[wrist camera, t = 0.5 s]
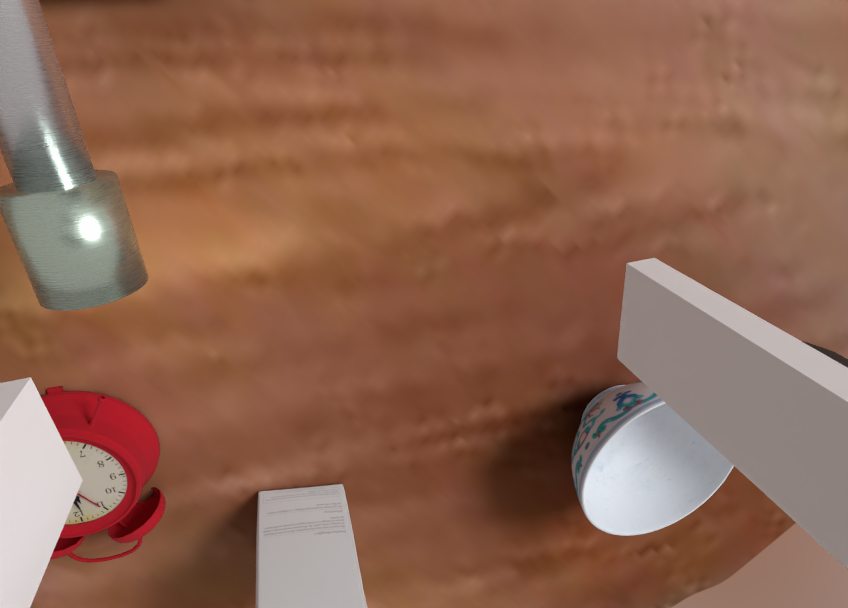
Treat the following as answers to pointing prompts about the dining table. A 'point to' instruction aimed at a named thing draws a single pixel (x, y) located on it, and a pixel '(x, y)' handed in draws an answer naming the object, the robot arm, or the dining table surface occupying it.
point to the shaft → (57, 178)
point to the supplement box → (306, 550)
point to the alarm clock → (106, 468)
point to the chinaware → (641, 462)
